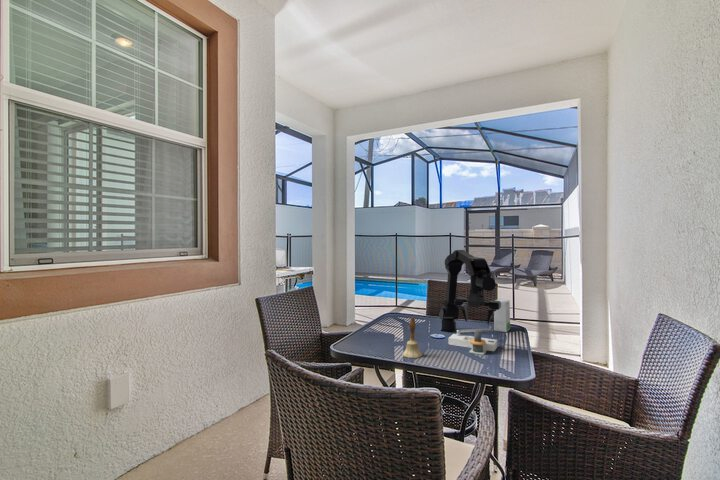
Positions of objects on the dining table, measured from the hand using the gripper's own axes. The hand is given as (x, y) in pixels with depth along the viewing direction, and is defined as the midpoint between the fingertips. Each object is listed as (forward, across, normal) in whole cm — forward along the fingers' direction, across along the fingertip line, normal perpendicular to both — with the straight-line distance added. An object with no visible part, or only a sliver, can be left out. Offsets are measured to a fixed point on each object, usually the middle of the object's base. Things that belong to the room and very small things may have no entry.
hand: (477, 322), depth 153 cm
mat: (+12, +1, -2) cm, 12 cm away
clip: (+8, -4, +13) cm, 16 cm away
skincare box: (+13, +4, +40) cm, 42 cm away
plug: (+12, +1, -2) cm, 12 cm away
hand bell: (+12, -22, -19) cm, 32 cm away
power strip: (+12, -4, +6) cm, 14 cm away
